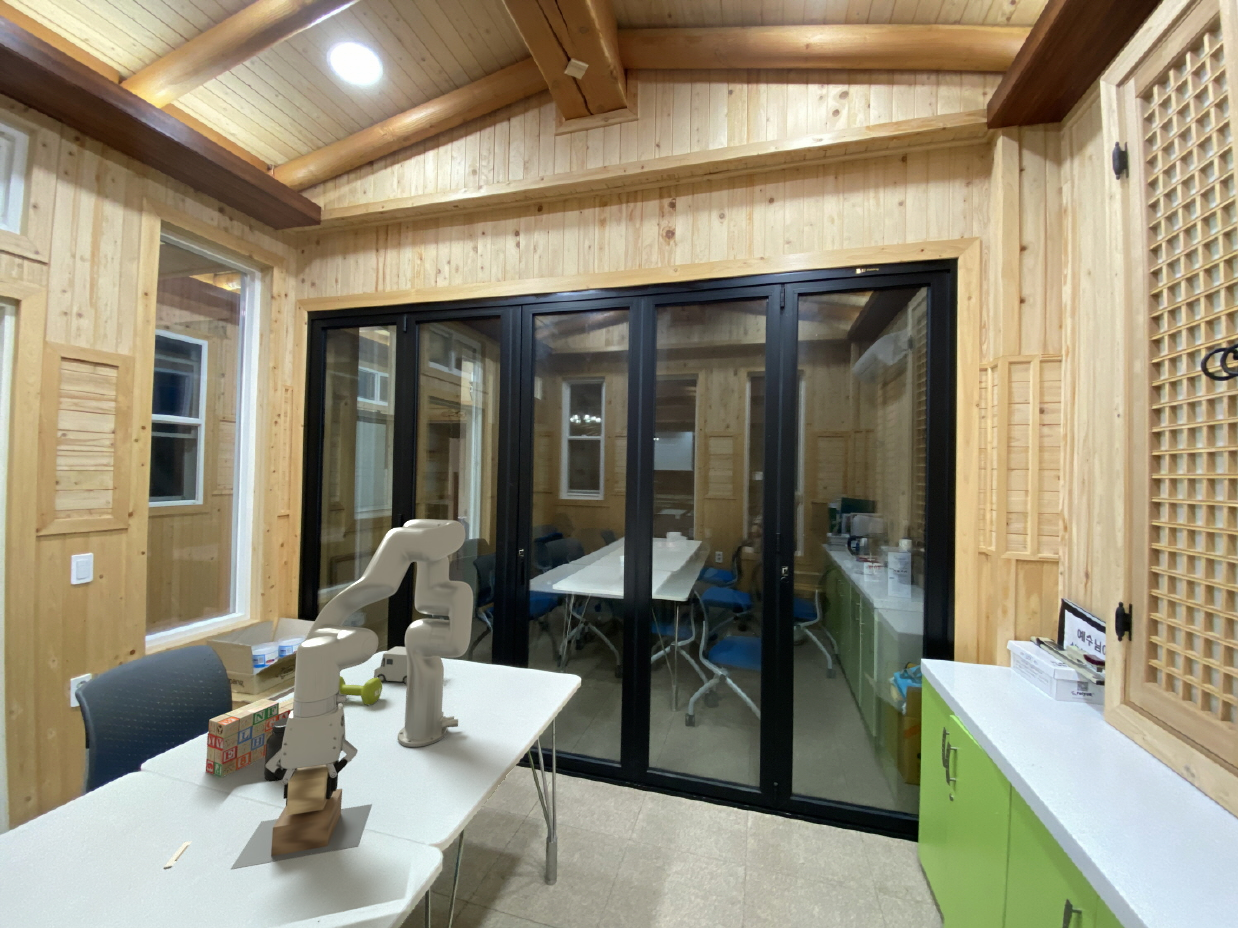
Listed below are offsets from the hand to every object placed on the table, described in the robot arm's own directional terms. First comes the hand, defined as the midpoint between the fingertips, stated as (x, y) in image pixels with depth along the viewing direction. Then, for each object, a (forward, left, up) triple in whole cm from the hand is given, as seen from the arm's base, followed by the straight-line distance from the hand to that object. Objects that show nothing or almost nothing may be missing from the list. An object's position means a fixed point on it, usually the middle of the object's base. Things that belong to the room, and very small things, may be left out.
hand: (310, 796), depth 90 cm
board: (0, 0, -8) cm, 8 cm away
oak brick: (0, 0, -1) cm, 1 cm away
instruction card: (+18, -2, -8) cm, 20 cm away
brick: (0, 0, -7) cm, 7 cm away
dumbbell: (+7, -62, -8) cm, 63 cm away
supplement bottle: (+13, -25, -8) cm, 29 cm away
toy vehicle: (-6, -77, -8) cm, 77 cm away
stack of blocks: (+22, -37, -8) cm, 44 cm away
